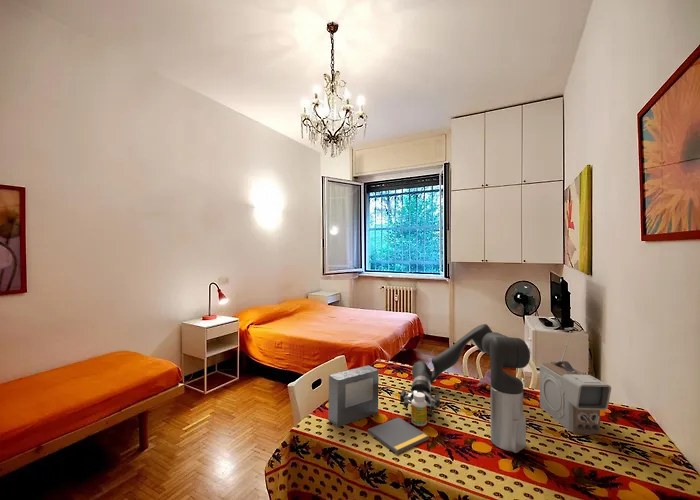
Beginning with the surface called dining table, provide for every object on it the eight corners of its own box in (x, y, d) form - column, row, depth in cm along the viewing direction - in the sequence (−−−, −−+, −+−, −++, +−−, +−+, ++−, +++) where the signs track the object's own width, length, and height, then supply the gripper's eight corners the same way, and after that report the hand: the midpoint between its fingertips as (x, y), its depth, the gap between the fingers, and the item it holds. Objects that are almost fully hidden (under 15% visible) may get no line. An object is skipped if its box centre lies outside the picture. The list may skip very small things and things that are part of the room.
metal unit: (378, 413, 118) (379, 370, 118) (337, 428, 108) (338, 380, 108) (367, 405, 124) (367, 364, 124) (327, 419, 113) (328, 374, 114)
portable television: (578, 440, 102) (578, 347, 102) (537, 405, 126) (537, 329, 126) (616, 441, 102) (616, 347, 102) (567, 405, 125) (568, 330, 126)
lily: (505, 389, 143) (496, 367, 147) (513, 389, 132) (502, 365, 137) (479, 396, 144) (471, 374, 148) (485, 396, 133) (475, 373, 137)
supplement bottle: (415, 427, 109) (415, 398, 109) (408, 419, 114) (408, 392, 114) (429, 425, 110) (429, 396, 110) (422, 417, 115) (422, 390, 115)
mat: (428, 439, 102) (428, 435, 102) (396, 454, 94) (396, 450, 94) (398, 420, 113) (398, 417, 113) (367, 432, 105) (367, 428, 105)
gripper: (439, 400, 124) (439, 421, 108) (403, 395, 128) (398, 415, 112) (439, 381, 124) (440, 399, 109) (403, 377, 128) (398, 394, 112)
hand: (418, 407), depth 110 cm, fingers open, 8 cm apart
